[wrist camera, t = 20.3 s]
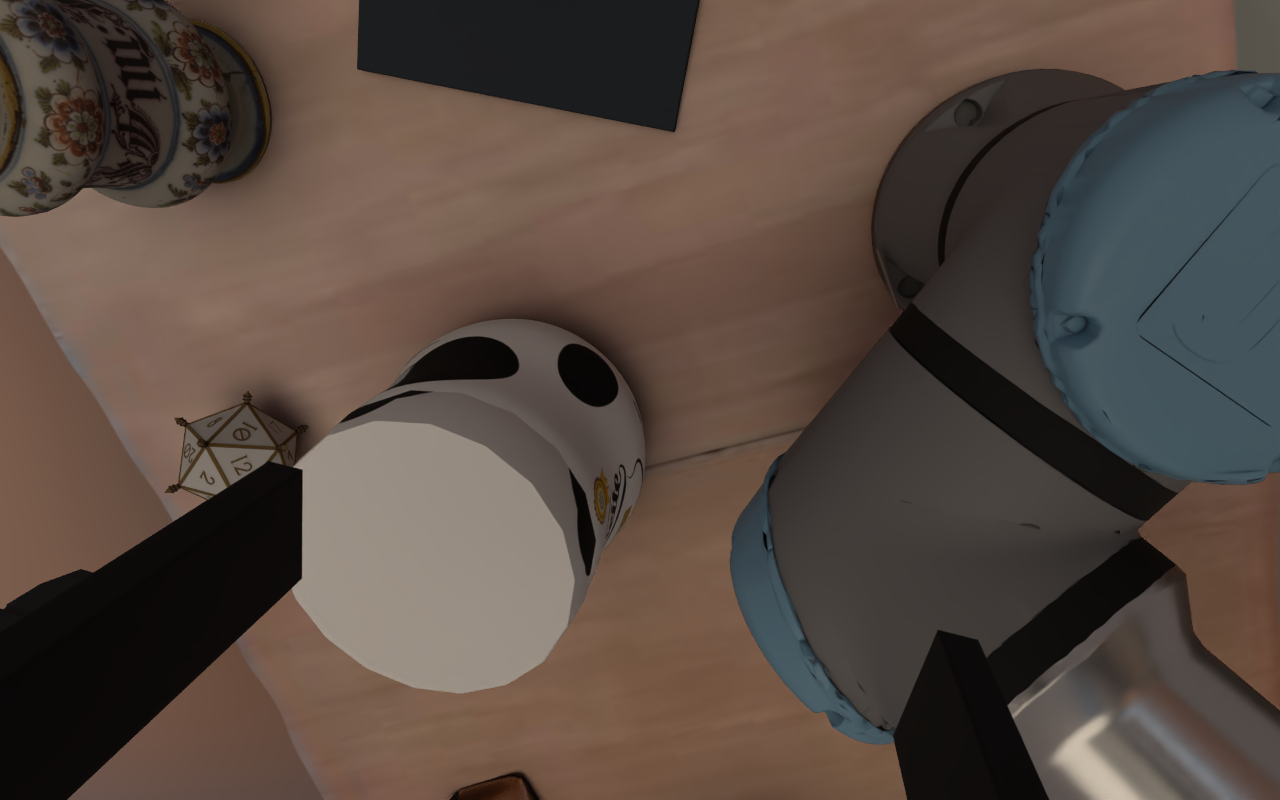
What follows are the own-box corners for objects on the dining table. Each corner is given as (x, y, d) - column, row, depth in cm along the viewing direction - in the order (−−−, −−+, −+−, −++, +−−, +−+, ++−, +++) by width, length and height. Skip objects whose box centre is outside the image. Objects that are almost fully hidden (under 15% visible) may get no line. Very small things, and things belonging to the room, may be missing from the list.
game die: (292, 433, 58) (159, 493, 52) (267, 353, 52) (115, 411, 46) (348, 497, 54) (211, 571, 48) (328, 418, 48) (170, 491, 42)
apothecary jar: (129, -31, 43) (-265, -142, 27) (304, 47, 43) (18, -16, 27) (111, 158, 48) (-236, 163, 31) (269, 229, 48) (7, 272, 31)
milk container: (660, 535, 51) (613, 723, 34) (440, 528, 54) (297, 699, 37) (647, 302, 45) (582, 392, 29) (401, 309, 48) (212, 394, 32)
